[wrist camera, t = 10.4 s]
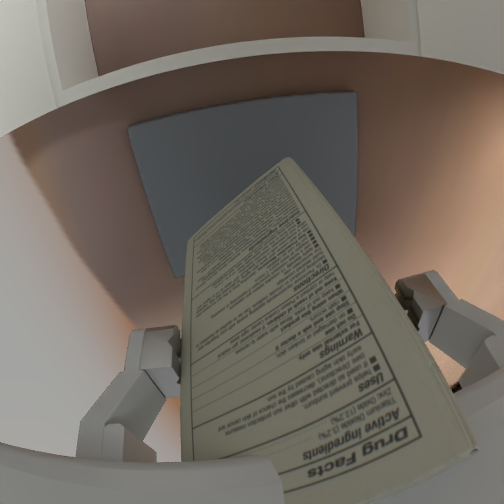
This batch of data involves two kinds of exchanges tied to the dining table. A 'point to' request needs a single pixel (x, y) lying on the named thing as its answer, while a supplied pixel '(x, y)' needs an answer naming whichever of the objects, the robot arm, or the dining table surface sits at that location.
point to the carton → (220, 47)
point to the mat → (243, 158)
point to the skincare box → (307, 354)
